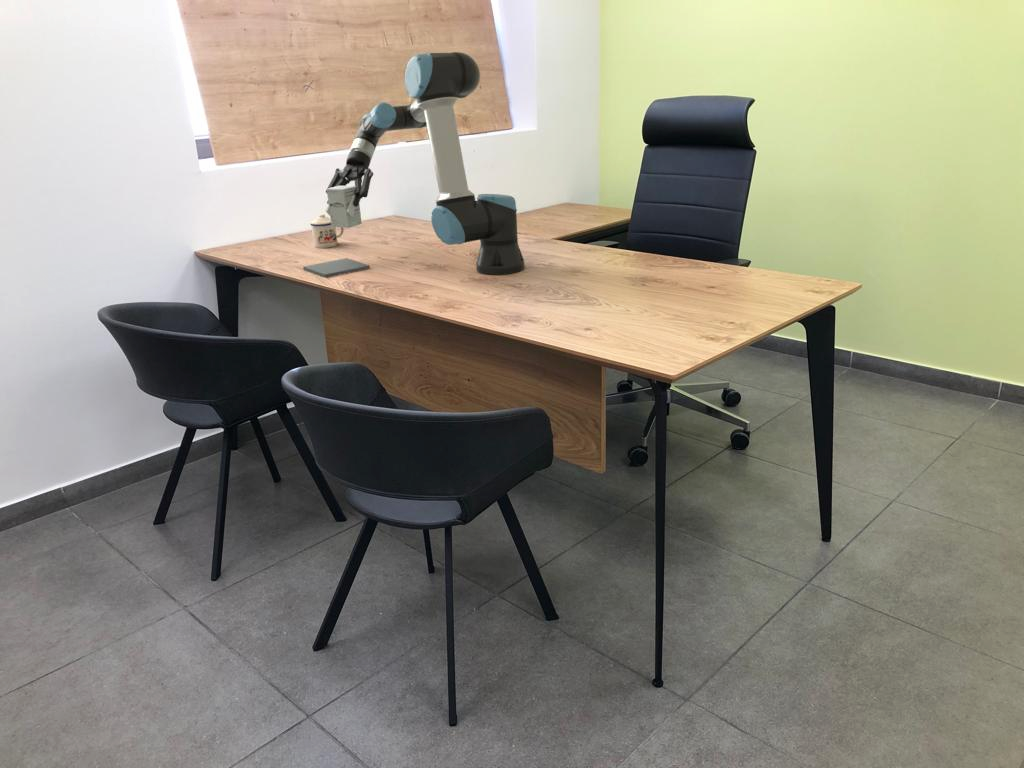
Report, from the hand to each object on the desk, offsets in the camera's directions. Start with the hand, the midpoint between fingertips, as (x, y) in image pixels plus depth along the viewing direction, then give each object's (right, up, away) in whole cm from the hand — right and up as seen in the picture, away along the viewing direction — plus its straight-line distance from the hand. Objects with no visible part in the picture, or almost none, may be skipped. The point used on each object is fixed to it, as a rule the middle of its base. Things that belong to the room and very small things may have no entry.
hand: (338, 213), depth 264 cm
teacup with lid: (-12, -4, +39) cm, 41 cm away
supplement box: (+2, -3, +5) cm, 6 cm away
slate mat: (-1, -18, +2) cm, 18 cm away
